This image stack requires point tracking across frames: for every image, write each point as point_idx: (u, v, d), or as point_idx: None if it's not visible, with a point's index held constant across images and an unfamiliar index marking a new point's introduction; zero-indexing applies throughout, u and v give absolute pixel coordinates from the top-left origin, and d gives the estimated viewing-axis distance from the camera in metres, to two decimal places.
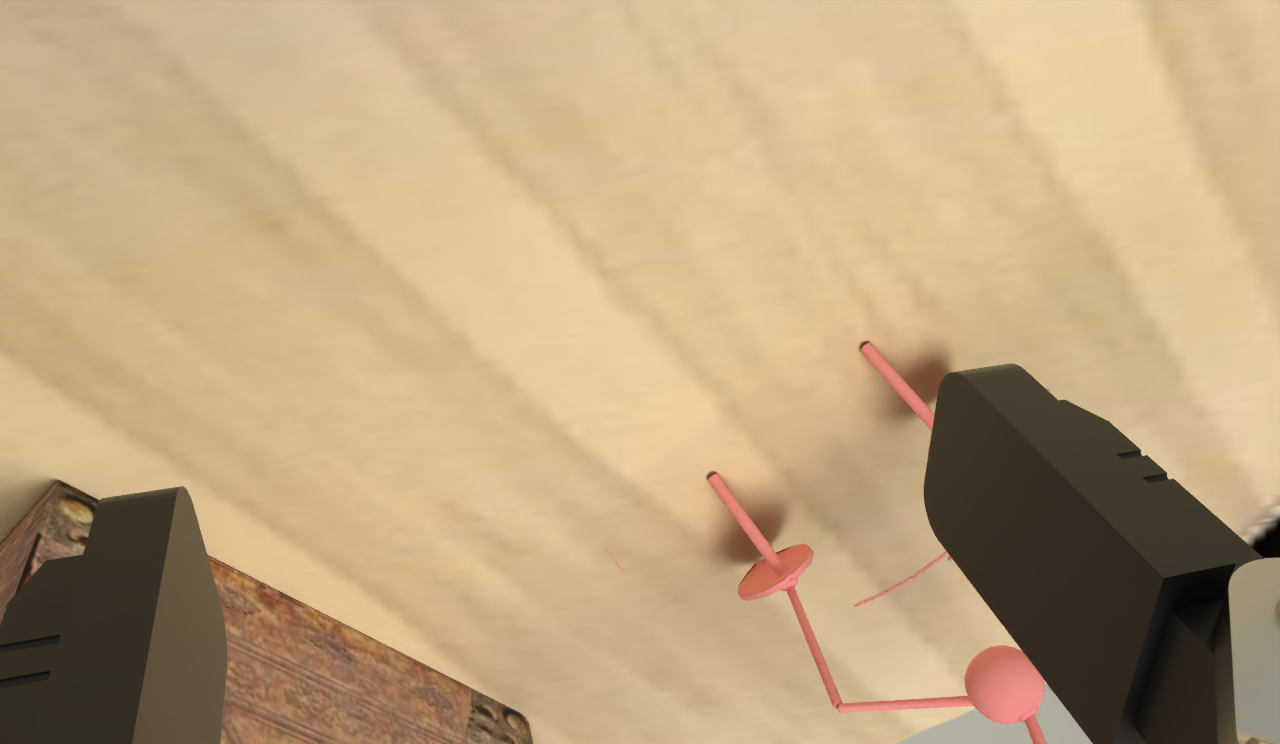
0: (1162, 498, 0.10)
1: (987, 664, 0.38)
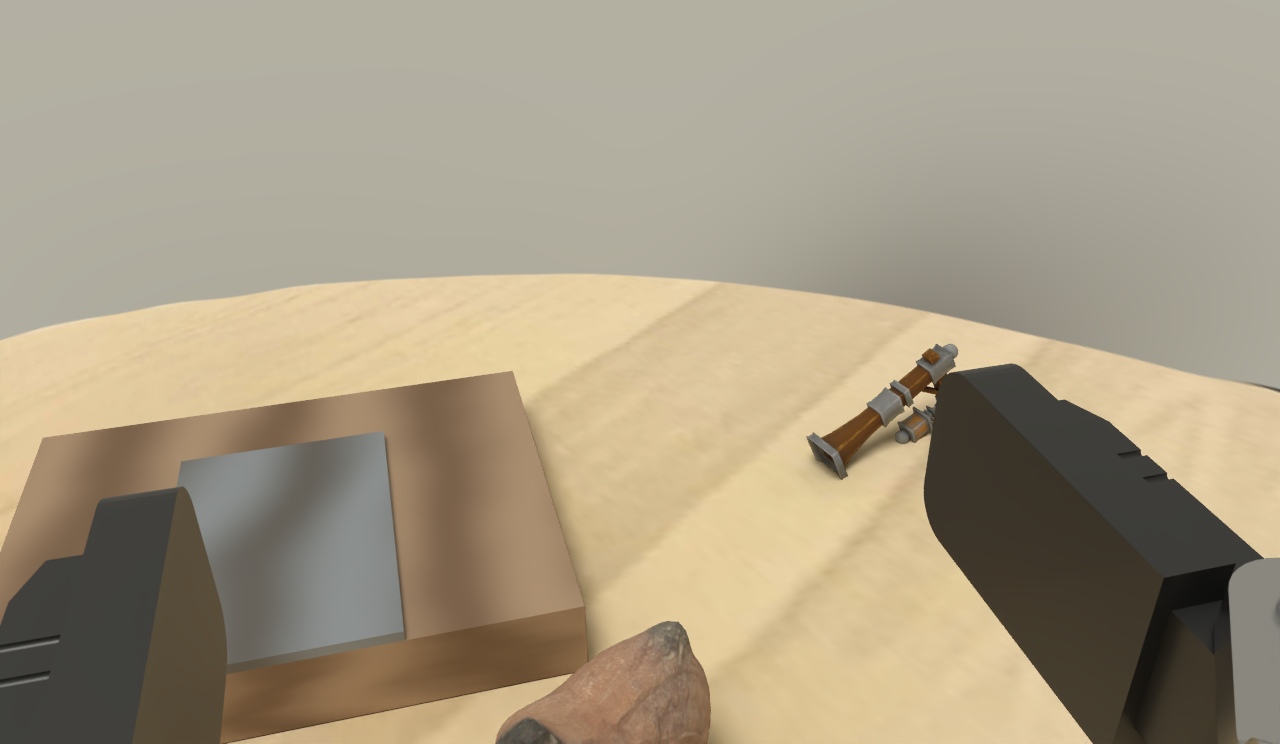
0: (1162, 498, 0.10)
1: None
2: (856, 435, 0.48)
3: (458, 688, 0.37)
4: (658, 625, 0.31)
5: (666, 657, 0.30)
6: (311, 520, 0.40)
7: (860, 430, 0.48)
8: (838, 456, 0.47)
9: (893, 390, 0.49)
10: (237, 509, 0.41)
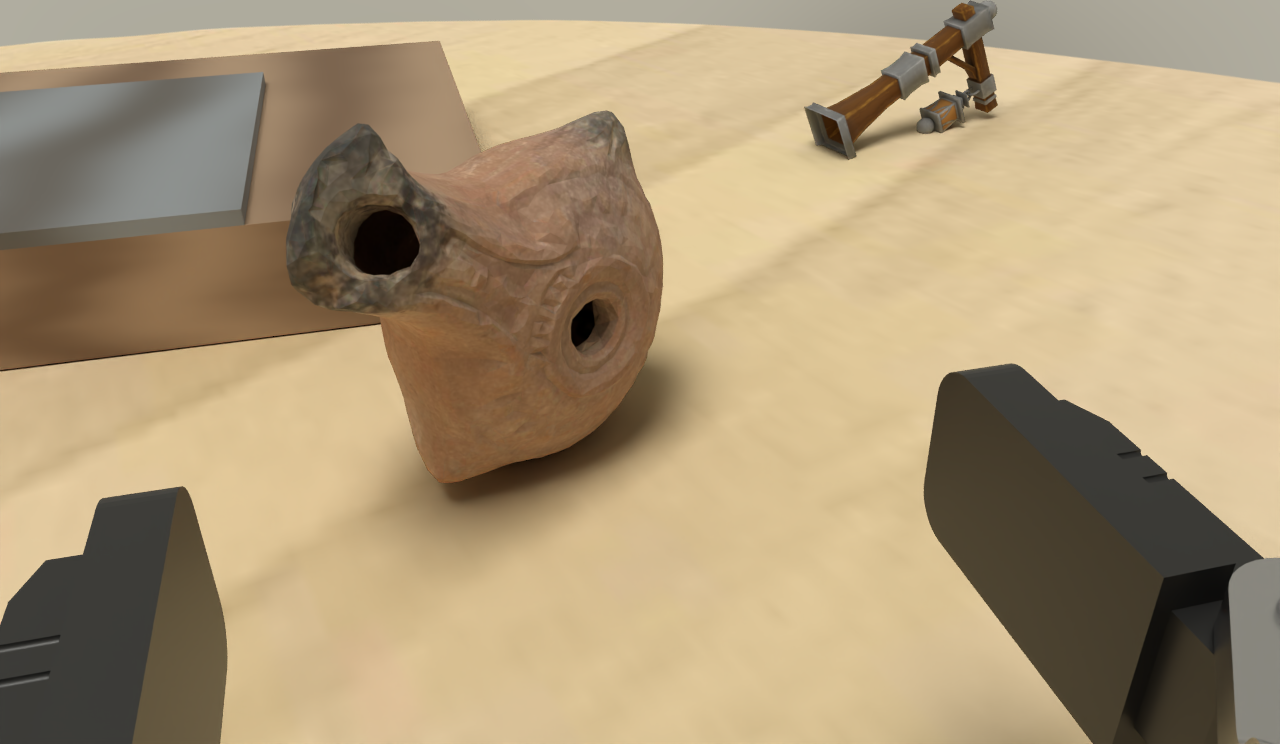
0: (1162, 498, 0.10)
1: None
2: (868, 103, 0.38)
3: (326, 317, 0.27)
4: (583, 117, 0.21)
5: (590, 143, 0.20)
6: (146, 130, 0.30)
7: (873, 97, 0.38)
8: (844, 123, 0.37)
9: (915, 54, 0.38)
10: (51, 123, 0.31)
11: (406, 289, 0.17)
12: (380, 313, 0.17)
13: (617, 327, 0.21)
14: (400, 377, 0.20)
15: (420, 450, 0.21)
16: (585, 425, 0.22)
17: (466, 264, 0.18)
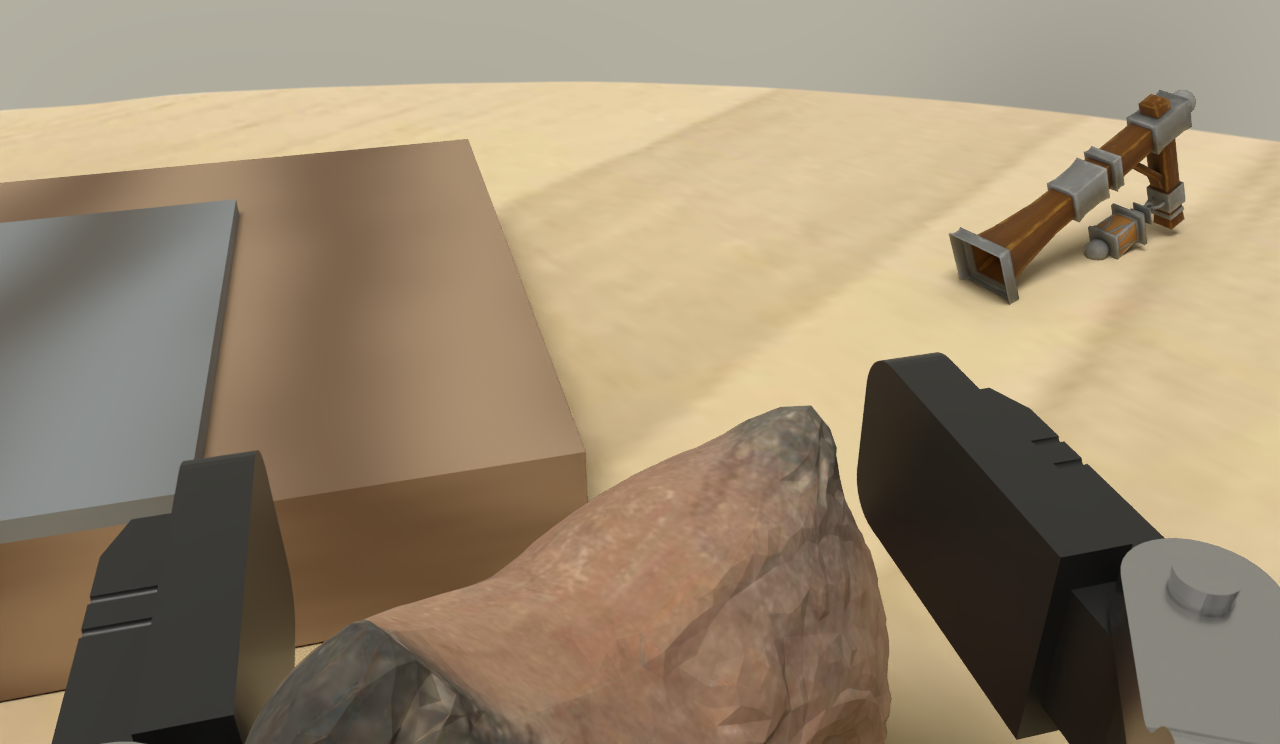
0: (1068, 482, 0.10)
1: None
2: (1035, 229, 0.28)
3: (323, 625, 0.18)
4: (759, 416, 0.12)
5: (788, 484, 0.11)
6: (62, 313, 0.21)
7: (1041, 222, 0.28)
8: (1008, 259, 0.28)
9: (1091, 162, 0.29)
10: None
11: None
12: None
13: None
14: None
15: None
16: None
17: None
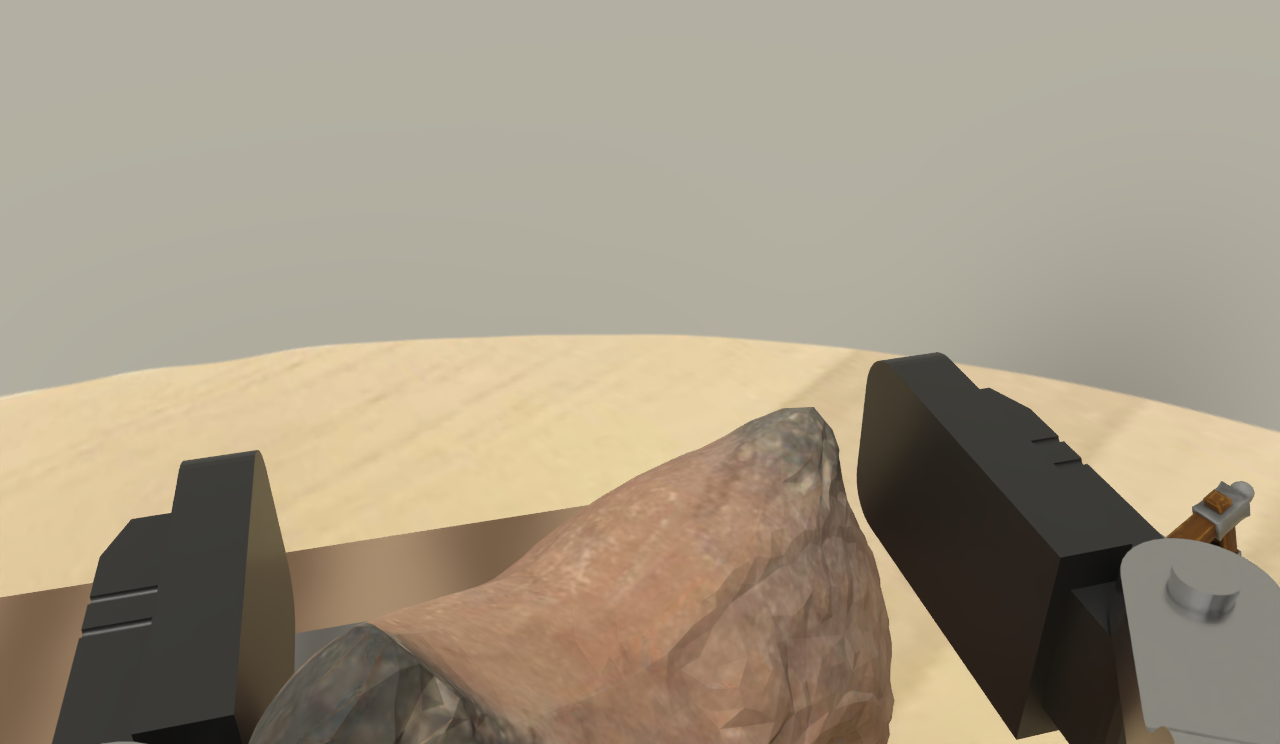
0: (1068, 482, 0.10)
1: None
2: None
3: None
4: (762, 417, 0.12)
5: (791, 486, 0.11)
6: None
7: None
8: None
9: None
10: None
11: None
12: None
13: None
14: None
15: None
16: None
17: None
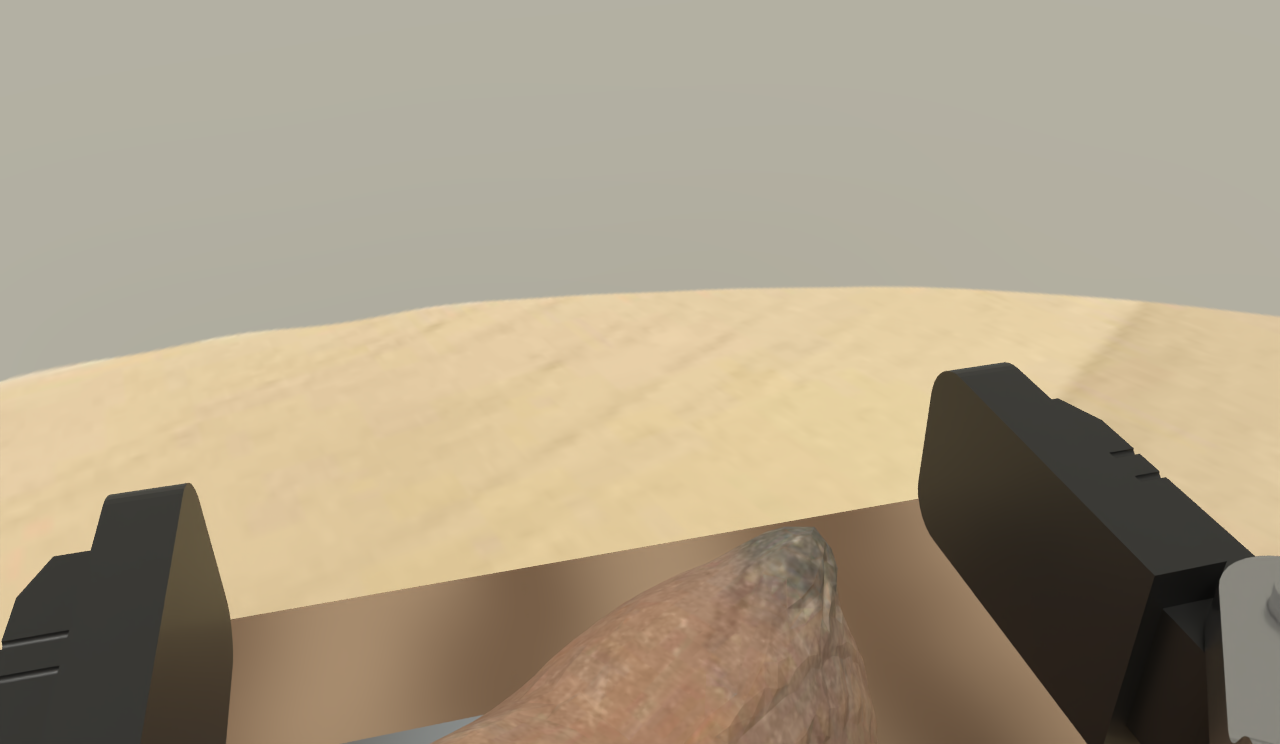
0: (1154, 496, 0.10)
1: None
2: None
3: None
4: (765, 536, 0.12)
5: (795, 612, 0.12)
6: None
7: None
8: None
9: None
10: None
11: None
12: None
13: None
14: None
15: None
16: None
17: None
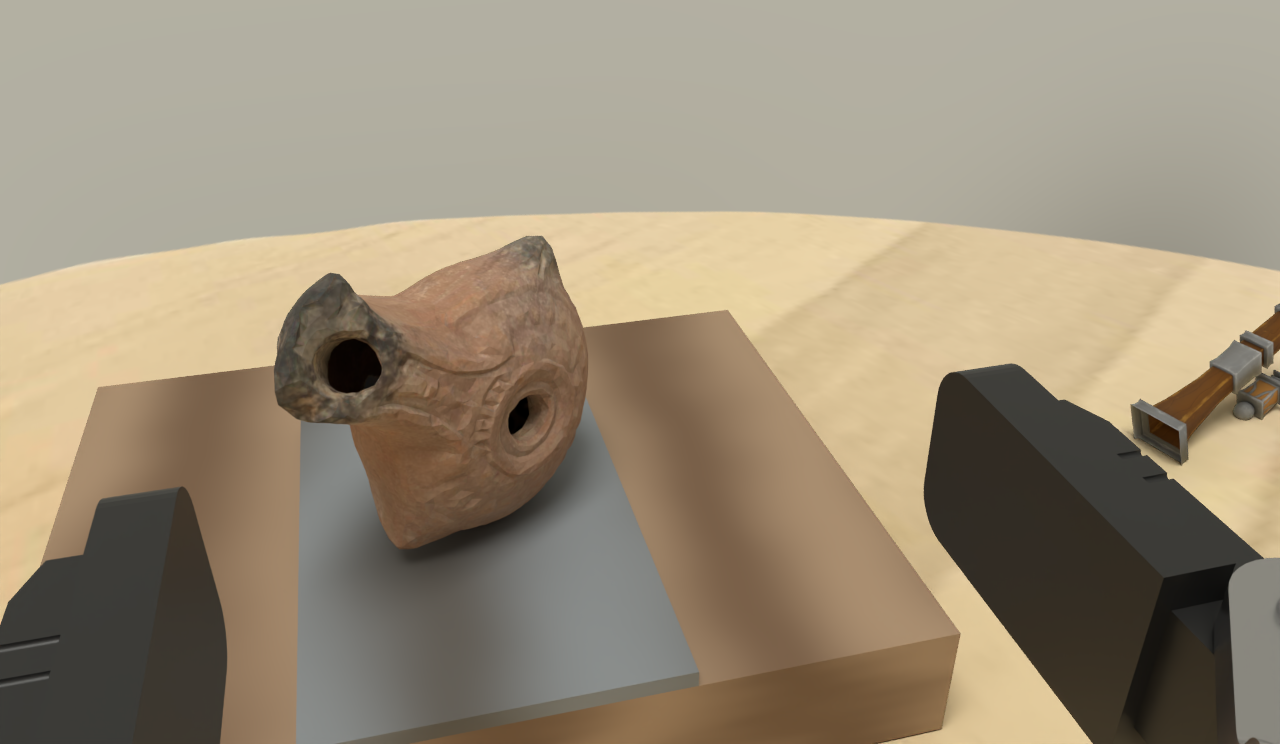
0: (1162, 497, 0.10)
1: None
2: (1203, 403, 0.35)
3: None
4: (517, 240, 0.25)
5: (523, 266, 0.24)
6: None
7: (1208, 397, 0.35)
8: (1184, 431, 0.34)
9: (1246, 344, 0.35)
10: None
11: (371, 403, 0.21)
12: (350, 423, 0.21)
13: (548, 416, 0.25)
14: (365, 463, 0.24)
15: (382, 523, 0.25)
16: (522, 497, 0.26)
17: (420, 379, 0.22)
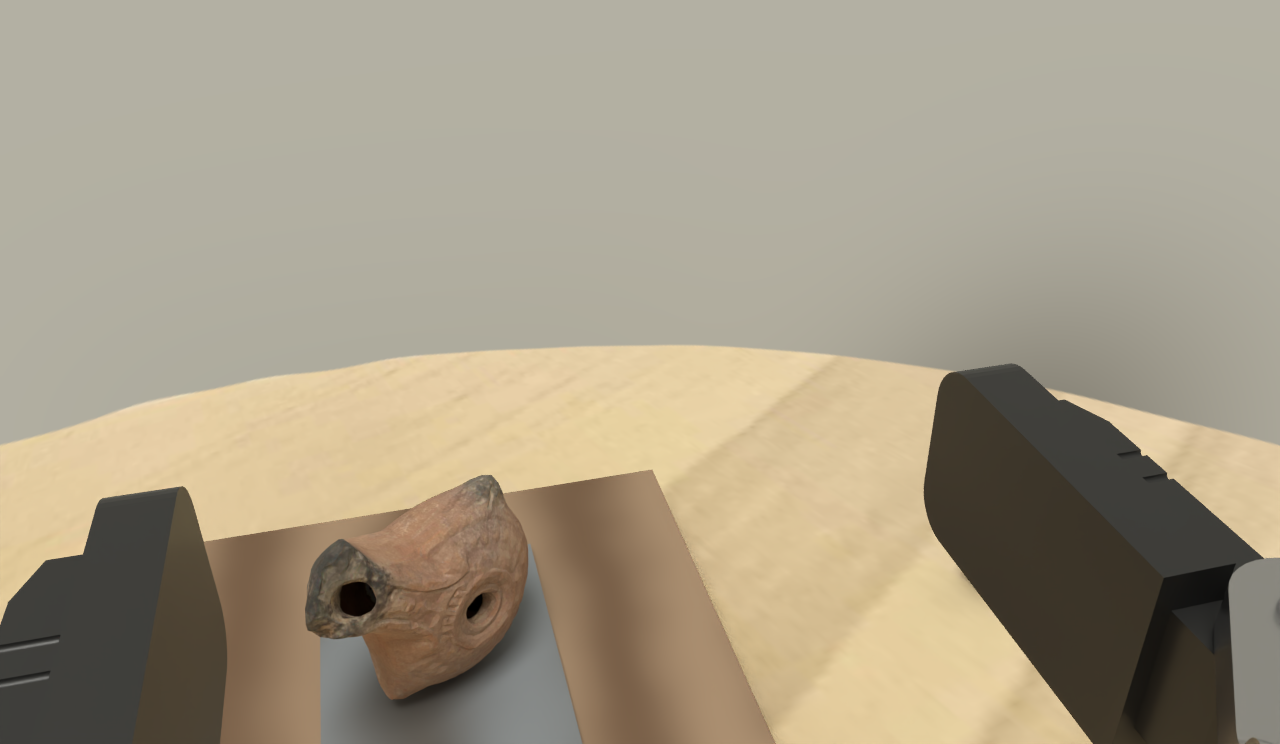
0: (1162, 498, 0.10)
1: None
2: None
3: None
4: (473, 478, 0.36)
5: (476, 502, 0.35)
6: None
7: None
8: None
9: None
10: None
11: (369, 623, 0.31)
12: (355, 636, 0.31)
13: (496, 604, 0.35)
14: (366, 643, 0.34)
15: (379, 682, 0.35)
16: (479, 658, 0.36)
17: (402, 601, 0.32)
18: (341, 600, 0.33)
